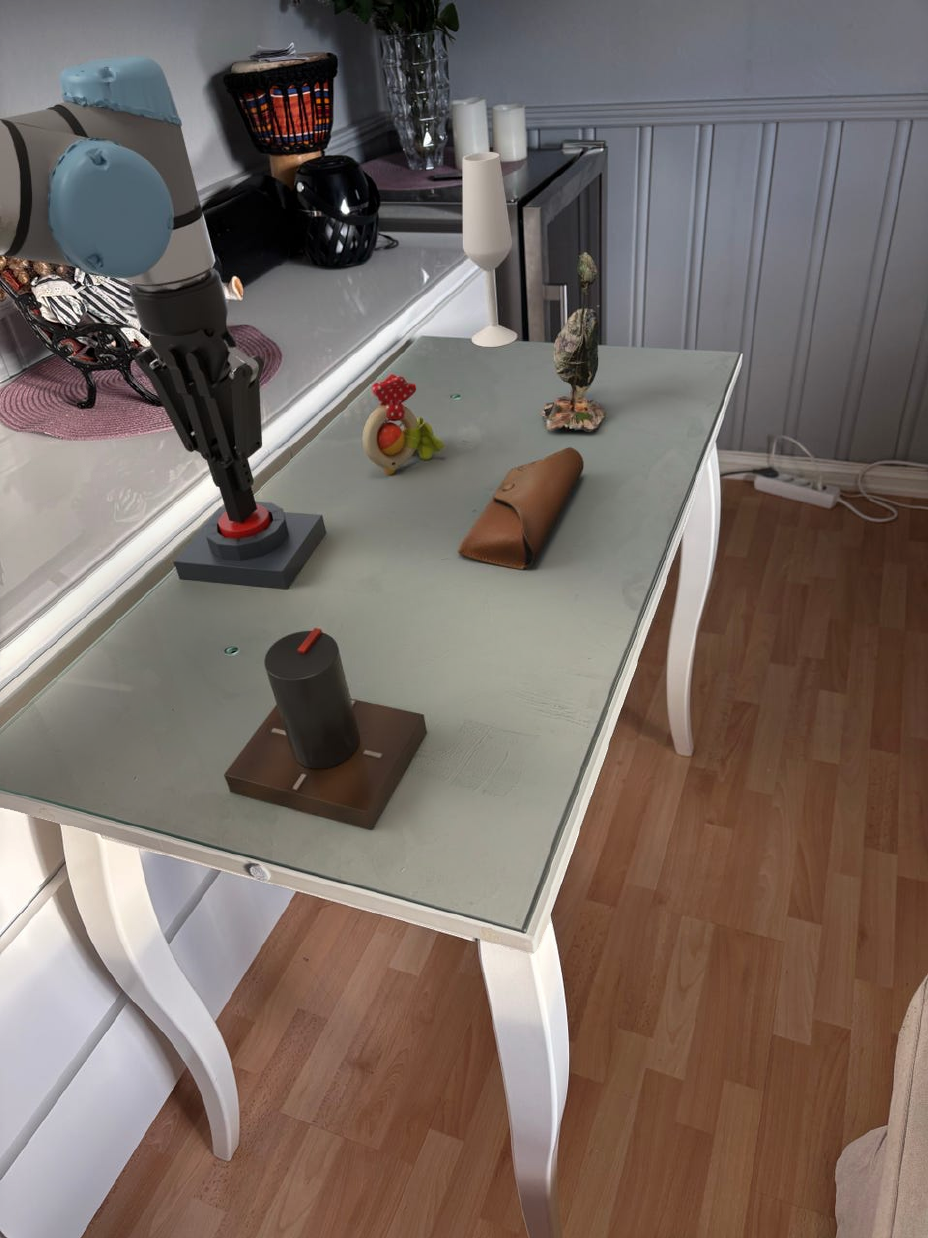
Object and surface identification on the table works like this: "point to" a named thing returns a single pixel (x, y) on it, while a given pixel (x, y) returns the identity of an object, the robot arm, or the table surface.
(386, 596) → the table surface
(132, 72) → the robot arm
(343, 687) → the dial
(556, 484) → the sunglasses case
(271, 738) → the knob panel
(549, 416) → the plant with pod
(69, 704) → the table surface
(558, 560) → the table surface
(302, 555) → the button box
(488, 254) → the champagne flute
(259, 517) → the button
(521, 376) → the table surface
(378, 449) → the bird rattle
